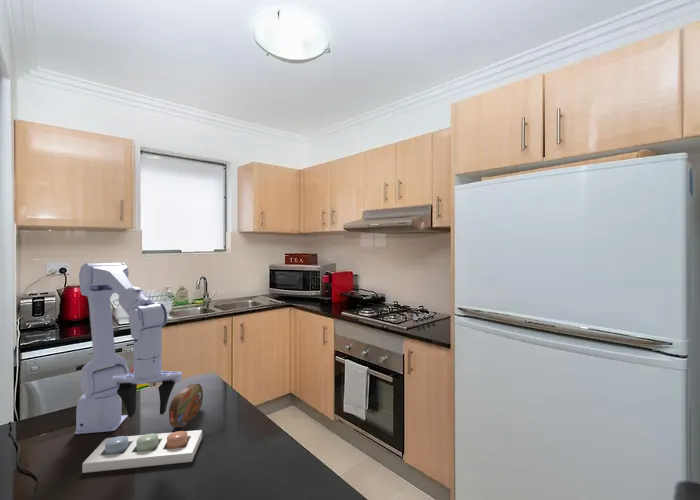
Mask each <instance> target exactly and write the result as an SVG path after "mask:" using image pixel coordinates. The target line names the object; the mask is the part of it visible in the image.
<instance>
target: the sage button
mask: <svg viewBox="0 0 700 500" xmlns="http://www.w3.org/2000/svg"><path fill="white" fill-rule="evenodd" d="M157 434H158V433H146V434H142V435H143V436H141V437H139V438H138V439H137V441H136V452H143V451H153V450H156V448H157V447H158V435H157Z"/></svg>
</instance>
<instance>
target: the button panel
mask: <svg viewBox="0 0 700 500" xmlns="http://www.w3.org/2000/svg"><path fill="white" fill-rule="evenodd" d="M184 431H185V432H187V434H188V440H187V446H186V447H185V448H174V449H167V436H168V435H170V434H171V433H174V432H175V431H174V432H162V433H161V432H160V433H156V434H157V435H158V447H157V448H156V450H153V451H143V452H136V441H137V439H138V438H139V437H141V436H143V435H144V434H137V435H129V436H128V435H126V437H128V448H127V450H126V451H125V452H124V453H122V454H112V455H105V443H106V442H107V441H108V440H110V439H112V438H113V437H106V438H105V439H104V440H102V441H101V442H100V443H99V445H97V447H96V448H95V449H94V450H93V452H92V453H91V454H90V455H89V456H88V457H87V458H86V459H85V460H84V461H83V462H82V466H81V468H82V471H81V472H82V474H84V473H85V474H86V473H94V472H95V473H96V472H104V471H106V472H107V471H113V470H114V471H115V470H124V469H135V468H143V467H144V468H145V467H153V466H162V465H163V466H164V465H173V464H181V463H183V464H184V463H191V462H193V460H194V458H195V455H196V453H197V452H198V451H197V450H198V448H199V446H200V444H201V441H202V439H203V430H202V429H196V430H187V431H186V430H184Z"/></svg>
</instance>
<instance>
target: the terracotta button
mask: <svg viewBox="0 0 700 500" xmlns="http://www.w3.org/2000/svg"><path fill="white" fill-rule="evenodd" d="M185 431H186V430H180V431H174V433H172V432H170V433H171V434H170V435H168V436H167V449H174V448H185V447H186V446H187V440H188V434H187V432H185Z"/></svg>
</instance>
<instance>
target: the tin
mask: <svg viewBox="0 0 700 500" xmlns="http://www.w3.org/2000/svg"><path fill="white" fill-rule="evenodd" d="M203 395H204V393H203V387H202V385H201V384H200V383H196V384H194V383H193V384H188V385H187V386H186V387H184V388H183V389H181V391H180V392H179V393H177V394H175V396H174V397H173V399H172V400H171V402H170V405H169V408H168V420H169V424H170V426H171V427H172V428H185V427H186V426H187V425H188V424H189V422H190V421H191V420H193V418H194V417H196V415H197V414H198V413H199V411H200V409H201V408H202V404H203V397H204V396H203Z"/></svg>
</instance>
